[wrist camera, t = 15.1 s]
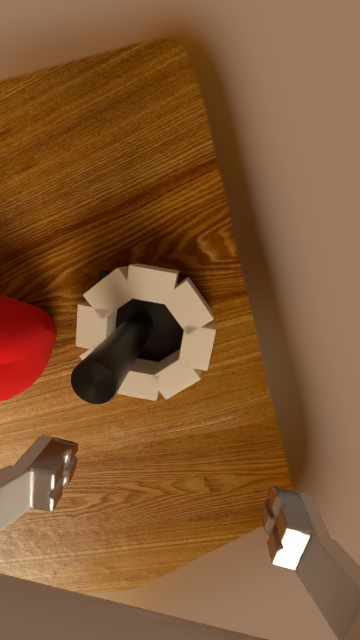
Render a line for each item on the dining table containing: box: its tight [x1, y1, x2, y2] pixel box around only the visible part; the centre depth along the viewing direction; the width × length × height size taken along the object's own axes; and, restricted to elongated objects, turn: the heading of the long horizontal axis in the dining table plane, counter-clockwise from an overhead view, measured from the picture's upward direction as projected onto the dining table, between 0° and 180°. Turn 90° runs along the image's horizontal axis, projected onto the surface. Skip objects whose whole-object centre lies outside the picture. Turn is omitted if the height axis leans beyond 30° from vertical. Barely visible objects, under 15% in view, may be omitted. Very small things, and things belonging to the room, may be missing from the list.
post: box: [71, 271, 184, 404], centre depth 21 cm, size 10×10×13 cm
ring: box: [76, 263, 216, 401], centre depth 25 cm, size 13×13×3 cm
